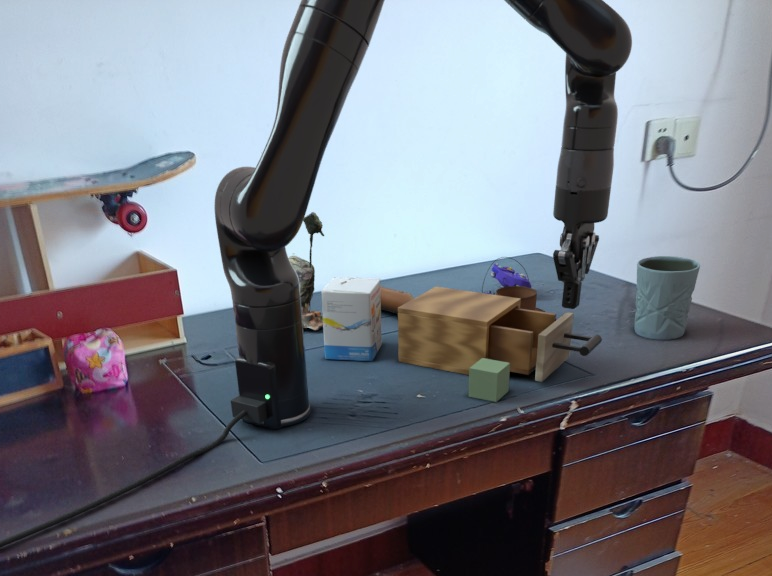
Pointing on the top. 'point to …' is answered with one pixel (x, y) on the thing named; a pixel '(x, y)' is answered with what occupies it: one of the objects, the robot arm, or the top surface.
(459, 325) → the cabinet
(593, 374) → the top surface
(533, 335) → the drawer
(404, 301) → the sunglasses case
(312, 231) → the plant with pod
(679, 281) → the drinking glass
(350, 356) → the ink box
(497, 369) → the block
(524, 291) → the cup and saucer
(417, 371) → the top surface
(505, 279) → the game controller
